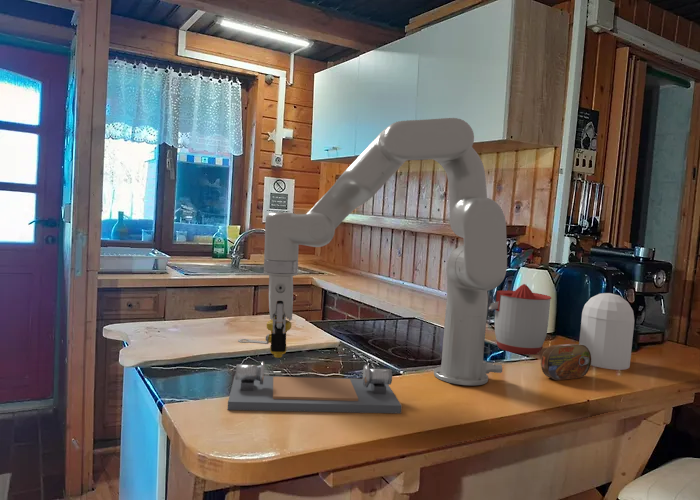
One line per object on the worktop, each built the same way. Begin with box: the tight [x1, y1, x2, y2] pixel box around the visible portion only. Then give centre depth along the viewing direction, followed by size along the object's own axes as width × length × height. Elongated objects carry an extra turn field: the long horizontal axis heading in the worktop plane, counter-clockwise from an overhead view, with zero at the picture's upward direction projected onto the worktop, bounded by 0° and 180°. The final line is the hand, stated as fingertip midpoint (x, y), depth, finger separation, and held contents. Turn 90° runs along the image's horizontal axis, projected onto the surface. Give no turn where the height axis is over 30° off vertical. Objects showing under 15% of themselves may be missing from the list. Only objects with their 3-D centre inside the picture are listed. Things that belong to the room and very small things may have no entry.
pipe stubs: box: [235, 361, 393, 394], centre depth 107 cm, size 31×4×5 cm, turn 98°
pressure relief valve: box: [237, 317, 292, 359], centre depth 122 cm, size 6×12×10 cm, turn 80°
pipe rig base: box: [227, 374, 402, 414], centre depth 108 cm, size 32×16×2 cm, turn 98°
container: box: [578, 292, 635, 371], centre depth 152 cm, size 14×13×20 cm
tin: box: [540, 343, 592, 381], centre depth 135 cm, size 15×3×8 cm, turn 116°
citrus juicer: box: [488, 283, 552, 356], centre depth 160 cm, size 16×17×20 cm
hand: (278, 347), depth 122 cm, fingers closed on pressure relief valve, 5 cm apart
